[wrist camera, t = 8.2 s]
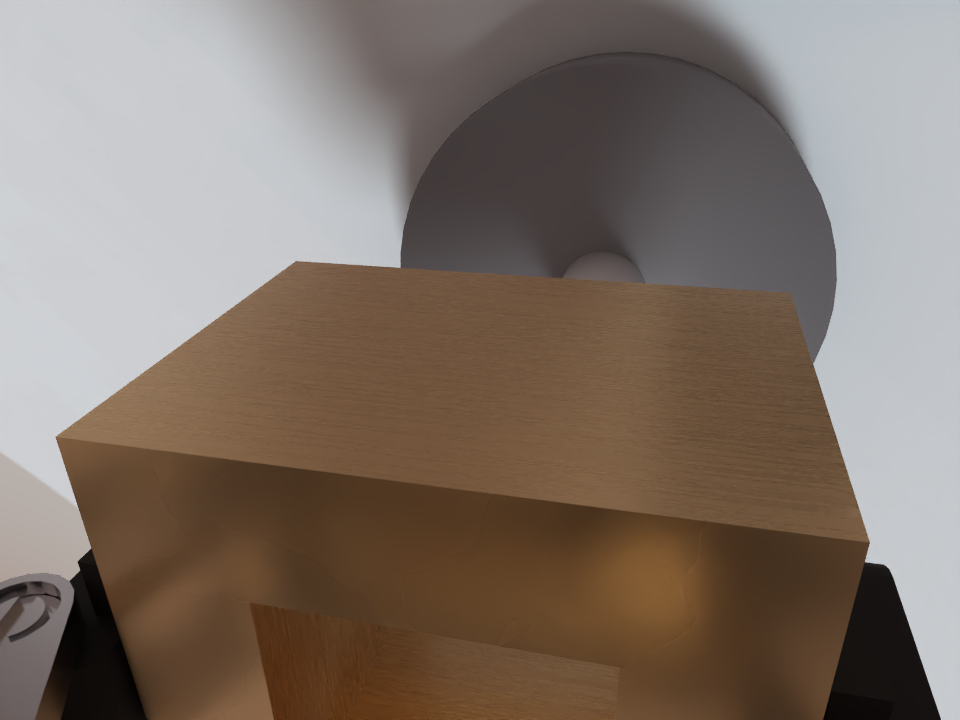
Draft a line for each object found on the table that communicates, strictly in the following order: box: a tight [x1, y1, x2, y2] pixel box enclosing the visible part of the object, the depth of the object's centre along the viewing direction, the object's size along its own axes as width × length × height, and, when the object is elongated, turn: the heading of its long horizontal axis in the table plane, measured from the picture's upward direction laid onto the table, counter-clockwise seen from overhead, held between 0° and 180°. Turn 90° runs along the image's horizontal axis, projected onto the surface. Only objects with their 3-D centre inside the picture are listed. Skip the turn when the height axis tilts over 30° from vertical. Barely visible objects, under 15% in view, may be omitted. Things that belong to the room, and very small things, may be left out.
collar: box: [56, 261, 870, 720], centre depth 10 cm, size 7×7×5 cm
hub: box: [401, 52, 837, 363], centre depth 18 cm, size 11×11×8 cm
